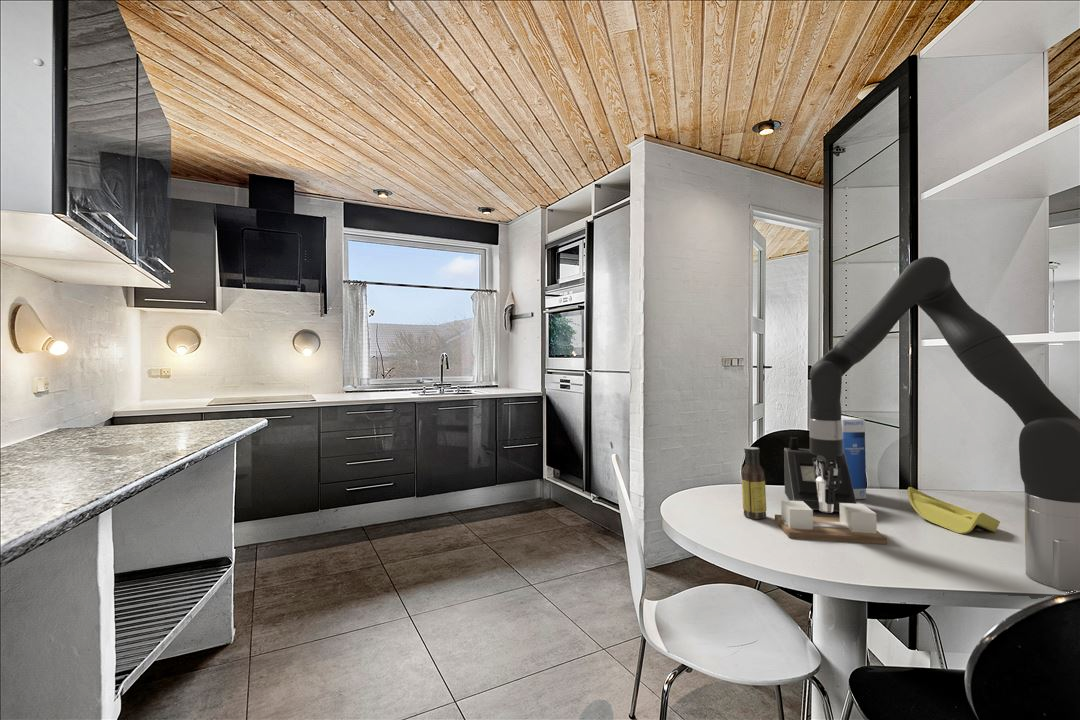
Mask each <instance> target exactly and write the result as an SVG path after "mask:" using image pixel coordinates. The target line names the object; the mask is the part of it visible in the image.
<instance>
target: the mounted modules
mask: <svg viewBox="0 0 1080 720" xmlns="http://www.w3.org/2000/svg"><path fill="white" fill-rule="evenodd" d="M780 502H781V503H780V507H781V509H780V510H781V513H780V515H781V518H782V519H784V520H785V522H786V523H787V524H788V527H789V528H794V529H811V530H813V517H814V509H811V508H810V507H809V506H808V505H807V504H805V503H804V502H803V501H789V499H788V500H786V499H781V500H780ZM839 507H840V511H839V518H840V522H843V523H844V524H845V525H846V526H847V527H849V530H850V531H852V532H861V533H877V531H878V530H877V512H875V511H873V510H872V509H870V508H869V507H867V506H866V505H865V504H863V503H857V504H852V503H839Z"/></svg>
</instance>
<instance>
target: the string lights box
mask: <svg viewBox="0 0 1080 720" xmlns="http://www.w3.org/2000/svg"><path fill="white" fill-rule="evenodd" d="M865 420H866V419H864V418H858V417H854V416H852V417H851V416H847V415H842V414H841V422H842V429H843V452H844V453H845V457H846V461H847V465H848V469H849V474H850V478H851V482H852V486H853V491H854V495H855V499H856V500H864V499H865V500H867V475H866V472H867V470H866V468H867V467H866V463H867V462H866V426H865V425H866V423H865V422H866V421H865Z"/></svg>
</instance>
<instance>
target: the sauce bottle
mask: <svg viewBox="0 0 1080 720" xmlns="http://www.w3.org/2000/svg"><path fill="white" fill-rule="evenodd" d="M760 451H761V450H760V448H759V447H755V446H746V447H744V454H745V455H744V456H745V461H744V462H745V464H744V466H743V467H742V469H741V490H742V492H741V493H742V509H743V516H744V517H745V518H747V519H750V520H751V519H752V520H762V519H765V518H766V517H767V512H766V511H767V497H766V477H765V471H764V469H763V467H762V465H761V463H760V462H761V461H760V453H761V452H760Z"/></svg>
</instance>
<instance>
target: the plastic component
mask: <svg viewBox="0 0 1080 720" xmlns="http://www.w3.org/2000/svg"><path fill="white" fill-rule="evenodd" d="M907 497H908V500H909V503H910V505H911V506H912V508H913V509H914V511H915V512H916V513H917V515H919V516H921V518H923V519H924V520H926V521H928V522H930V523H933V524H935V525H937V526H939V527H942V528H945V529H947V530H950V531H952V532H954V533H957V534H959V535H960V534H962V535H966V534H968V533H970V532H972V531H973V530H974V528H975V527H979V528H981V529H984V530H986V531H990V532H993V533H995V532H996V531H997V530H998V527H999V525H1000V523H1001V521H1000V520H998V519H997V518H995V517H992V516H990V515H989V514H987V513H985V512H983V511H978V512H977V513H976V512H973V511H971V510H969V509H965V508H963V507H960V506H957V505H954V504H951V503H949V502H946V501H944V500H940V499H938V498H935V497H933V496H930V495H928V494H926V493H924V492H922V491H919V490H918V489H916V488H914V487H912V486H909V487H908V488H907Z"/></svg>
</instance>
